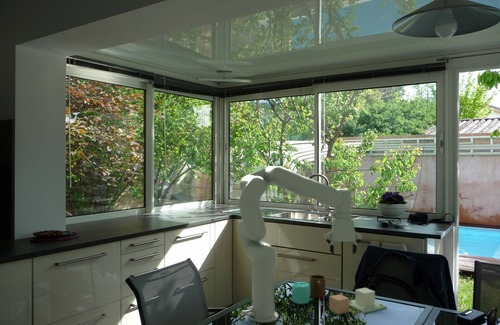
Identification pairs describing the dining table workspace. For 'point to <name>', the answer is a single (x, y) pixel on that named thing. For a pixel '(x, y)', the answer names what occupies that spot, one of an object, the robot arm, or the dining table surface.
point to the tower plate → (366, 309)
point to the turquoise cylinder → (300, 292)
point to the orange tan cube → (339, 304)
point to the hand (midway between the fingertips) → (343, 253)
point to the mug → (317, 286)
